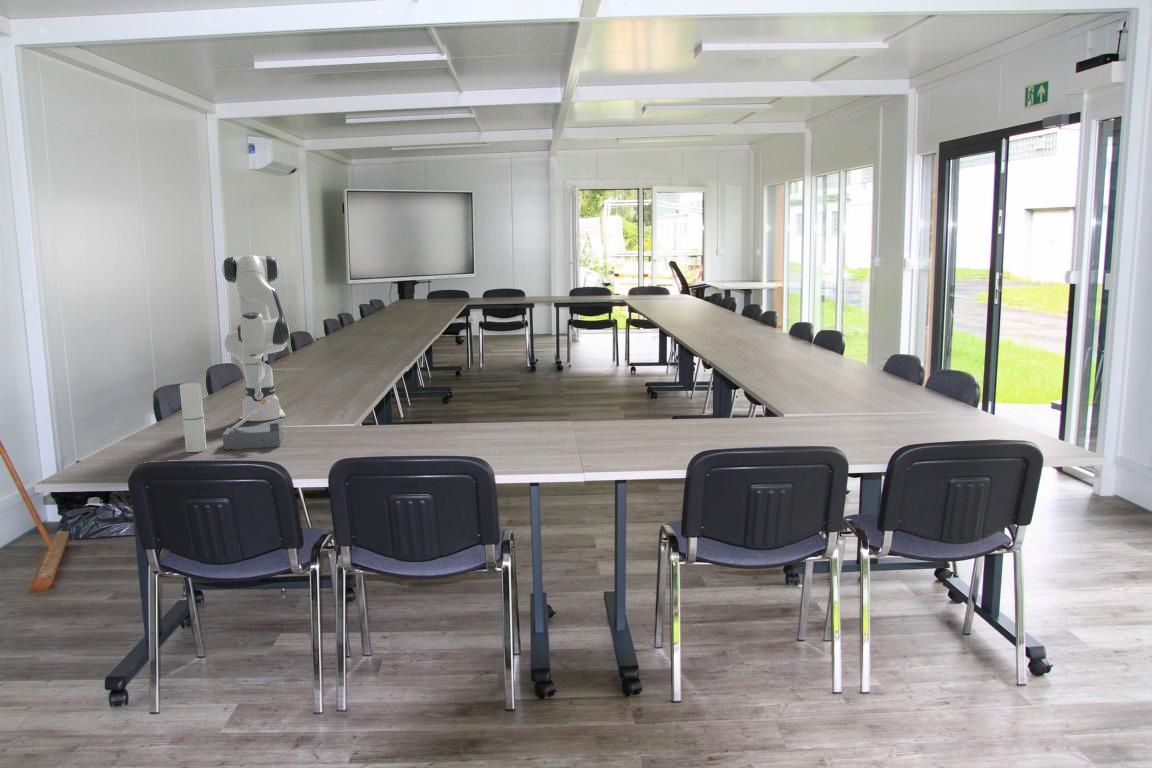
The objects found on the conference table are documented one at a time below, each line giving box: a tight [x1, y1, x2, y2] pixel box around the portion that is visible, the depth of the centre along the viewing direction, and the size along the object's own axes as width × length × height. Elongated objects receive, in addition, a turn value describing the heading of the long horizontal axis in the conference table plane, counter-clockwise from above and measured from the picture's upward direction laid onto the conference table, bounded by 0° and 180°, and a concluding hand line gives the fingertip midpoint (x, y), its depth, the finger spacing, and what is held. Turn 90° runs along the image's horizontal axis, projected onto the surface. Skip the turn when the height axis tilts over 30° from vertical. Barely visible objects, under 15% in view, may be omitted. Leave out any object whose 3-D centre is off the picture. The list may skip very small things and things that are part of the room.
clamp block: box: [221, 421, 284, 450], centre depth 329 cm, size 11×20×9 cm, turn 103°
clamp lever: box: [230, 397, 270, 430], centre depth 327 cm, size 4×17×3 cm
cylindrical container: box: [179, 382, 208, 453], centre depth 320 cm, size 7×7×25 cm
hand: (258, 392), depth 327 cm, fingers closed
